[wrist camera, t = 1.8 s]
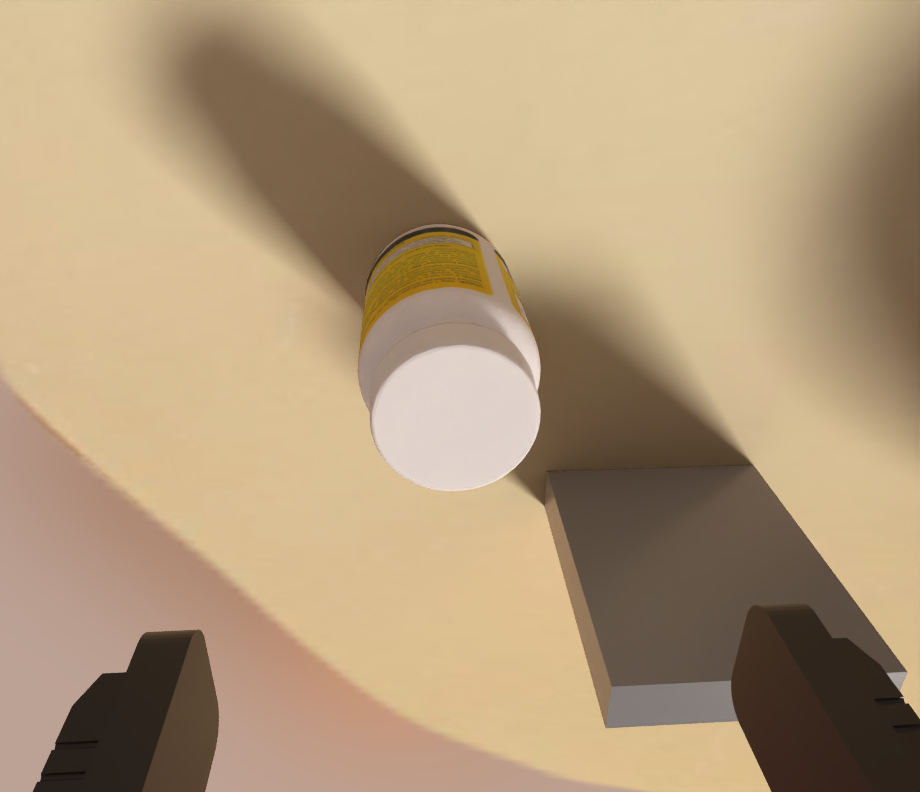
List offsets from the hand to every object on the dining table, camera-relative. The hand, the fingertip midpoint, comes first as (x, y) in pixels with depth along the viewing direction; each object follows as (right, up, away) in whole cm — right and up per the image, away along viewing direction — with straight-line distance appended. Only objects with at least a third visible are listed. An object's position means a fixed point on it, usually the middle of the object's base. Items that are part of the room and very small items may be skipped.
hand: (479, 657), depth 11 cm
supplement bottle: (-1, +7, +14) cm, 16 cm away
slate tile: (+7, 0, +18) cm, 19 cm away
